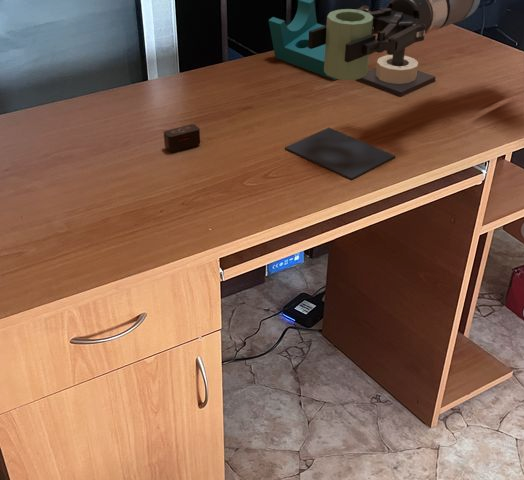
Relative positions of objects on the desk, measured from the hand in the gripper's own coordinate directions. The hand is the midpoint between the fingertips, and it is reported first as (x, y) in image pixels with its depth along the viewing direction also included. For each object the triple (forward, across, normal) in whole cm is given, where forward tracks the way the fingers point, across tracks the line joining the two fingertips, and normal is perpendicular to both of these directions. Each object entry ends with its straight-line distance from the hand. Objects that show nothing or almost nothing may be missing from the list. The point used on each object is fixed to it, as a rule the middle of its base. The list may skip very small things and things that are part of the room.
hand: (328, 46), depth 126 cm
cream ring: (-39, +14, -19) cm, 45 cm away
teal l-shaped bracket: (-34, +32, -21) cm, 51 cm away
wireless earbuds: (+13, +22, -21) cm, 33 cm away
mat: (-5, 0, -20) cm, 21 cm away
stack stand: (-39, +14, -20) cm, 46 cm away
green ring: (-5, 0, -5) cm, 7 cm away
